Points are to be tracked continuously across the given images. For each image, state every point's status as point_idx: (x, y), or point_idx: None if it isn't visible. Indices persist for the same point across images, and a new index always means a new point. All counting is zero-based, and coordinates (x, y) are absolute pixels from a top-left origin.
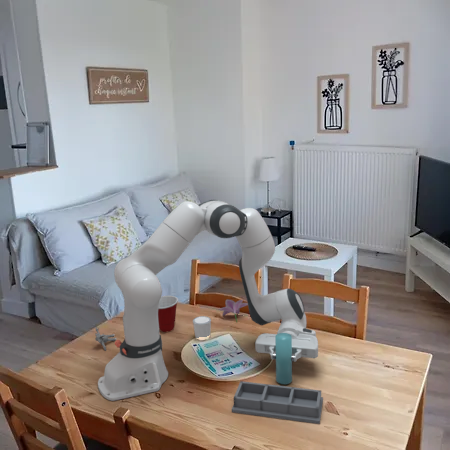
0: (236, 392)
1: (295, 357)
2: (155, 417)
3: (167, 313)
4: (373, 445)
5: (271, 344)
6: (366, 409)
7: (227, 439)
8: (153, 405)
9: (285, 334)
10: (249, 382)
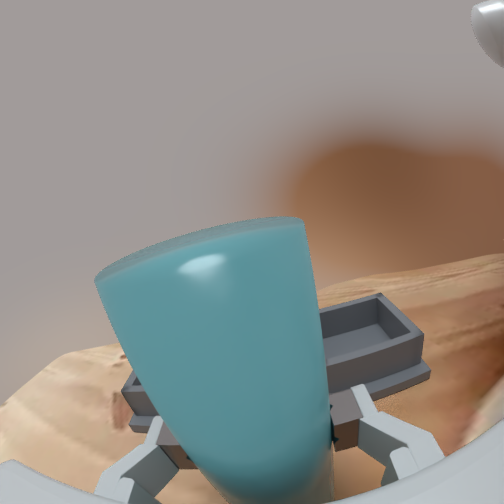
0: (390, 303)
1: (160, 416)
2: (469, 261)
3: None
4: (95, 347)
5: (441, 461)
6: (55, 409)
7: (337, 287)
8: (499, 265)
9: (160, 267)
10: (392, 345)
